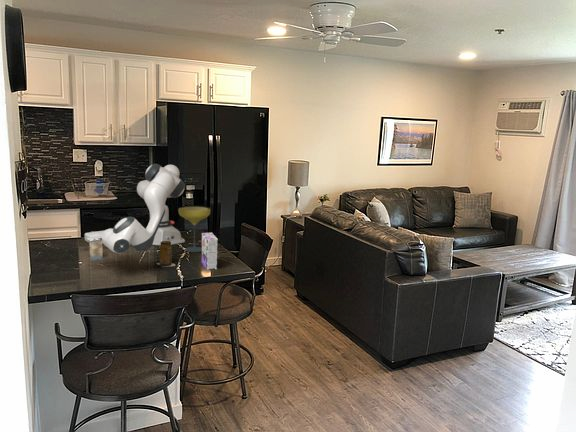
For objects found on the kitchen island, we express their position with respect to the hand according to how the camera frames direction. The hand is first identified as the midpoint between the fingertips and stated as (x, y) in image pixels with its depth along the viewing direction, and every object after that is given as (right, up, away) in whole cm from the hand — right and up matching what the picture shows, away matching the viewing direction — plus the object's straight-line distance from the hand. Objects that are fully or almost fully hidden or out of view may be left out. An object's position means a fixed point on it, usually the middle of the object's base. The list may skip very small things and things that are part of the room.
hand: (103, 231), depth 229 cm
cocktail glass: (+38, -12, +39) cm, 56 cm away
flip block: (-8, -4, +11) cm, 14 cm away
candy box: (+52, -18, +9) cm, 56 cm away
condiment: (+30, -18, +8) cm, 36 cm away
